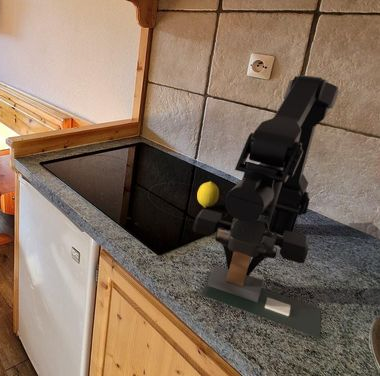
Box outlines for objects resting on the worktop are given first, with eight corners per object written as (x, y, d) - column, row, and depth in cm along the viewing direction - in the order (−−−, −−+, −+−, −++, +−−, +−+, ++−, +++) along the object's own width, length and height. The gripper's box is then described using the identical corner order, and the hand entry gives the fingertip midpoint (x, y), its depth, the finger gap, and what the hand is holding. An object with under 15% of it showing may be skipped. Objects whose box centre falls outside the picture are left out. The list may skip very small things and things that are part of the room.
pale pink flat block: (290, 307, 77) (290, 305, 76) (288, 316, 74) (289, 314, 74) (266, 299, 78) (267, 297, 78) (264, 308, 76) (265, 305, 76)
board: (320, 310, 77) (321, 308, 76) (319, 341, 70) (320, 338, 70) (210, 273, 86) (211, 271, 86) (200, 297, 79) (201, 294, 79)
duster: (260, 288, 80) (275, 240, 75) (257, 302, 76) (272, 253, 71) (213, 272, 84) (223, 226, 79) (207, 285, 80) (218, 238, 75)
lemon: (205, 213, 111) (211, 187, 107) (190, 205, 115) (195, 179, 112) (219, 209, 113) (226, 183, 110) (204, 201, 118) (210, 176, 114)
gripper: (192, 202, 70) (177, 275, 76) (318, 235, 61) (289, 315, 67) (207, 181, 78) (193, 248, 85) (319, 207, 69) (294, 280, 76)
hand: (238, 271), depth 78 cm, fingers closed on duster, 3 cm apart
